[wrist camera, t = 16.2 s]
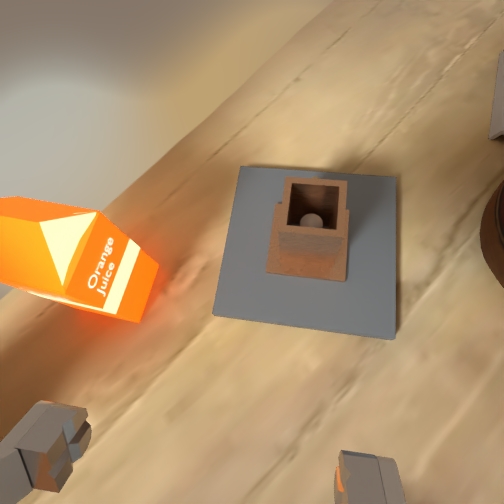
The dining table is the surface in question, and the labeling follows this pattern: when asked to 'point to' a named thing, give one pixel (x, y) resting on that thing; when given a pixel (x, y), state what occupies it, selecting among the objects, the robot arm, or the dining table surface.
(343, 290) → the base plate
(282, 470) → the dining table surface
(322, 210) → the copper sleeve
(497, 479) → the dining table surface
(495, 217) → the ceramic pitcher
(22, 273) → the orange juice
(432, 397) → the dining table surface
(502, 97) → the half-moon napkin holder
